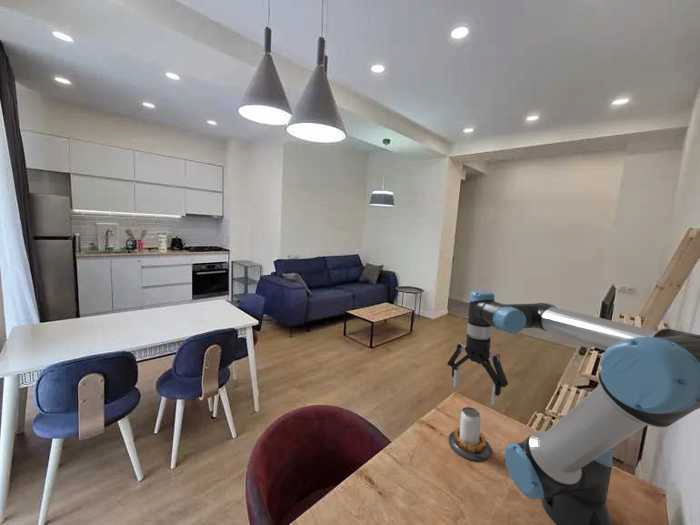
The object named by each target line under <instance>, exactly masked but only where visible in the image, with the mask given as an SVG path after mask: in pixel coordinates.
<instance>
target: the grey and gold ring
mask: <svg viewBox="0 0 700 525" xmlns="http://www.w3.org/2000/svg"><path fill="white" fill-rule="evenodd" d="M448 445H449V447H450V448H451V450H452V451H453V452H454V453H456V454H457V455H459V456H460V457H461V458H463V459H466V460H469V461H472V462H484V461H487V460H488V459H489V458H490V456H491V455H492V450H491V449H492V448H491V445H490V443H489V442H488V441H487V440H486V437H485V436H484V435H483V433H482V432H480V435H479V445H471V444H467V443H465V442H464V441H462V440H461V439H460V426H458V427H457V428H456V429H454V431H452V432H450V434H449V435H448Z"/></svg>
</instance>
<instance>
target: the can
mask: <svg viewBox="0 0 700 525" xmlns="http://www.w3.org/2000/svg"><path fill="white" fill-rule="evenodd" d="M481 419H482V418H481V414H480V411H478V410H477V409H476V408H473V407H471V406H469V407H468V406H466V407H463V408H462V411H461V412H460V421H459V422H460V423H459V427H460V439H461V440H462V441H464V442H465V443H467V444H471V445H479V435H480V433H481Z"/></svg>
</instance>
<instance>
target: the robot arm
mask: <svg viewBox="0 0 700 525" xmlns="http://www.w3.org/2000/svg"><path fill="white" fill-rule="evenodd" d="M492 328H496V329H498V330H499V331H501V332H503V333H508V334H512V335H516V334H518V333H520V332H522V331H523V330H524V329H538V330H542V331H545V332H547V333H551V334H554V335H557V336H559V337H563V338H566V339H569V340H572V341H576V342H578V343H581V344H584V345H587V346H591V347H594V348H596V349H599V350H602V351H604V352H603V354H602V355H601V357H600V363H599V366H600V367H601V369H600V370H599V372H598V374H597V381H598V384H599V385H597V386H596V387H595V388H594V389H593V390H591V392H590V393H588V394H587V395H586V396H585V397H584V398H582V400H580V401H579V402H578V403H577V404H576V405H575V406H573V408H571V409H570V410H569V411H568V412H566V414H565V415H563V416H562V417H561V418H560V419H559V420H558V421H556V422H555V423H554V424H553V425H552V426H551V427H550V428H548V429H547V430H543V429H540V430H535V431H534V432H532V433H531V434H530V435H529V436H527V438H526V439H524V440H523V441H521V442H512V443H511V444H508V445H506V447H505V449H504V459H505V465H506V468H507V471H508V473H509V476H510V478H511V480H512V481H513V483H514V485H515V486H516V487H517V489H518V490H519V491H520V492H521V493H522V494H523V495H524V496H526V497H527V498H529V499H531V500H541V504H542V506H543V508H544V511H545V512H546V514H547V515H548V516H549V517H550V519H551V520H552V521H553V522H554V523H555V524H556V523H557V524H558V525H613V523H612V520H611V515H610V511H609V507H608V504H607V498H608V493H609V487H610V481H611V475H612V468H613V466H614V463H613V456H614V455H613V452H612V448H614V447H616V446H618V445H619V444H621V443H622V442H623V441H625V440H626V439H628V438H630V437H631V436H633V435H635V434H636V433H637V432H639V431H641V429H644V428H645V427H646V426H650V427H654V428H659V429H661V428H667V427H669V426H671V425H673V424H674V423H676V422H678V421H680V420H682V418H684V417H686V416H688V415H689V414H690V413H692V412H694V411H696V410H698V409H700V334H698V333H697V334H696V333H691V332H686V331H680V330H676V329H672V328H665V327H664V328H661V329H658V330H655V329H650V328H646V327H640V326H638V325H637V326H636V325H633V324H627V323H623V322H618V321H616V320H615V321H614V320H611V319H606V318H603V317H597V316H593V315H588V314H585V313H580V312H575V311H572V310H567V309H563V308H559V307H557V306H556V305H554V304H552V303H546V302H537V303H511V304H510V303H509V304H506V303H505V304H504V303H501V302H497V301H496V299H495V294H494V293H493V292H492V291H487V290H478V289H477V290H472V291H471V292H470V295H469V301H468V317H467V330H466V341H465V343H466V344H465V345H464V343H463V342H460V343H458V344H457V345H456V350H455V351H454V352H453V354H452V356H451V357H450V359H449V360H448V361H447V365H448V366H449V367H450V368H451V377H453V384H452V387H453V388H457V387H459V386H460V376H461V375H460V373H461V368H459V367H460V366H461V365H463V364H465V363H466V362H467V361H468V360H470V362H473V363H474V362H475V363H477V364H479V365H481V366H482V367H483V368H484V369H485V370H486V372H487V374H488V375H489V377H490V379H491V380H492V382H493V385H492V389H491V403H490V404H491V405H492V406H494V405H495V404H496V403H497V402H498V397H499V396H500V395H501V393H502V388H505V387H507V386H508V385H509V382H508V380H507V376H506V374H505V372H504V369H503V366H502V363H501V361H500V360H501V359H500V357H501V356H500V355H499V354H492V353H491V351H490V350H491V337H492ZM463 351H464V352H465V353H466V354H465V355H464V356H463V357H462V358H461V359H460V360H458V361H457V362H456V360H457V359H458V357H459V356H460V355H461V353H462V352H463ZM490 360H491V361H490ZM491 362H492V363H491ZM493 366H494V367H493ZM557 524H556V525H557Z"/></svg>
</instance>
